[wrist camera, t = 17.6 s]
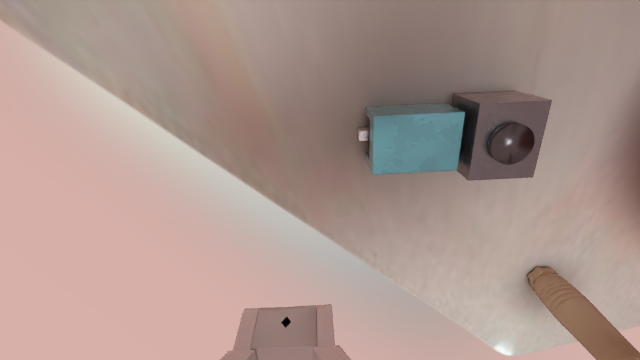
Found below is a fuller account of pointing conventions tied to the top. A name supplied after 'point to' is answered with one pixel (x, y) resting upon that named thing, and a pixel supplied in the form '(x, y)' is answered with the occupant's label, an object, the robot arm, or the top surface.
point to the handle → (580, 317)
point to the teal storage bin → (414, 138)
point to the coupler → (497, 133)
